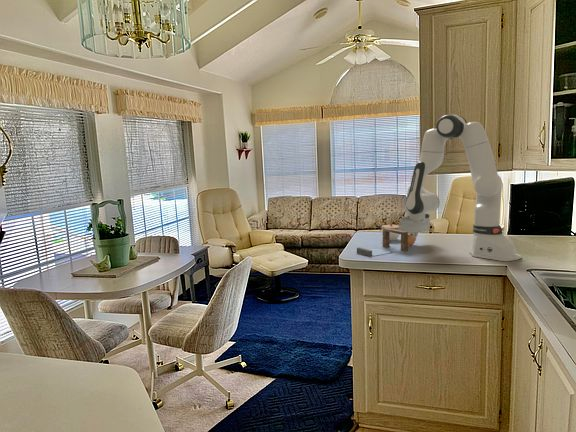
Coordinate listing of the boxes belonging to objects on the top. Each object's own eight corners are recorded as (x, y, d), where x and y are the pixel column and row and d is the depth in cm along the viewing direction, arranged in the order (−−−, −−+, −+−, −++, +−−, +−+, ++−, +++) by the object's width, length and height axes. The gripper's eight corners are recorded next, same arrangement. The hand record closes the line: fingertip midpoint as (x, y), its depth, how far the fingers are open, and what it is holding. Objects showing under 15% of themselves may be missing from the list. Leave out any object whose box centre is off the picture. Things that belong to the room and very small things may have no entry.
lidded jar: (393, 242, 242) (393, 225, 241) (377, 239, 250) (377, 223, 249) (404, 239, 249) (404, 223, 248) (388, 236, 257) (389, 221, 256)
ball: (418, 243, 232) (416, 233, 231) (410, 247, 229) (408, 237, 228) (409, 242, 237) (407, 232, 236) (402, 246, 234) (400, 236, 233)
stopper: (372, 255, 213) (372, 250, 212) (368, 256, 212) (368, 251, 211) (359, 252, 220) (359, 247, 220) (356, 252, 219) (356, 247, 219)
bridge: (386, 245, 234) (386, 227, 233) (407, 250, 221) (408, 231, 220) (382, 246, 232) (382, 228, 231) (403, 251, 220) (403, 232, 218)
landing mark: (392, 252, 218) (392, 252, 218) (374, 256, 212) (374, 255, 211) (375, 248, 228) (375, 248, 228) (357, 251, 222) (357, 251, 222)
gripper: (404, 218, 225) (403, 244, 227) (432, 214, 235) (431, 239, 237) (395, 216, 230) (395, 241, 233) (423, 212, 240) (422, 237, 243)
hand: (413, 240), depth 235 cm, fingers closed
